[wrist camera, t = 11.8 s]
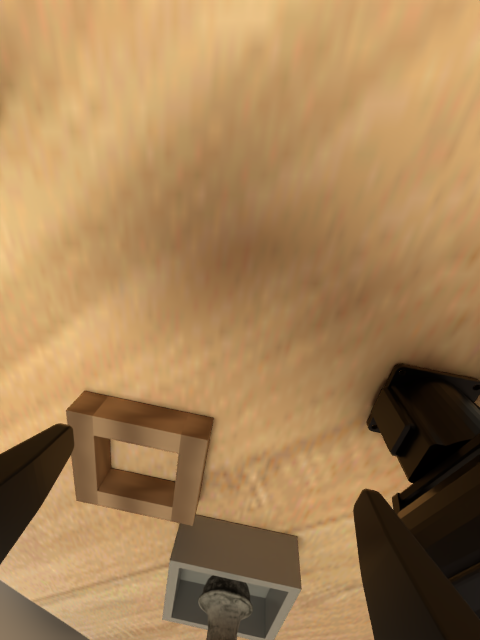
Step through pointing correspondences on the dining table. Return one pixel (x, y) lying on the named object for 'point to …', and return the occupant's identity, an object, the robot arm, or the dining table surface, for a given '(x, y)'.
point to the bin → (233, 573)
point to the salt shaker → (225, 606)
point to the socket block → (146, 430)
